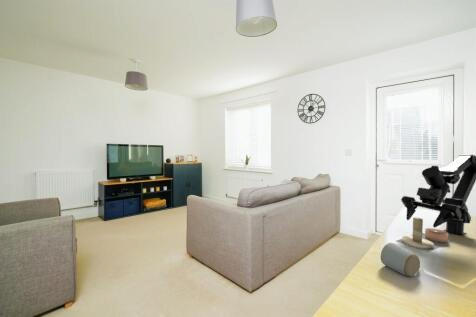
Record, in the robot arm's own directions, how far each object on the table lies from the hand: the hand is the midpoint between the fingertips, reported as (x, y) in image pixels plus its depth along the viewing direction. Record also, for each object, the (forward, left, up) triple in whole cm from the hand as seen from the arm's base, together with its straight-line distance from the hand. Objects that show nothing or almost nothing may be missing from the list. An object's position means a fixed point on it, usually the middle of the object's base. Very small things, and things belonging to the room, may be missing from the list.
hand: (420, 223), depth 90 cm
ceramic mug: (+26, +7, -9) cm, 29 cm away
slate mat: (-4, 0, -9) cm, 9 cm away
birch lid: (+1, 0, -8) cm, 8 cm away
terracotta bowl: (-10, +2, -8) cm, 13 cm away
